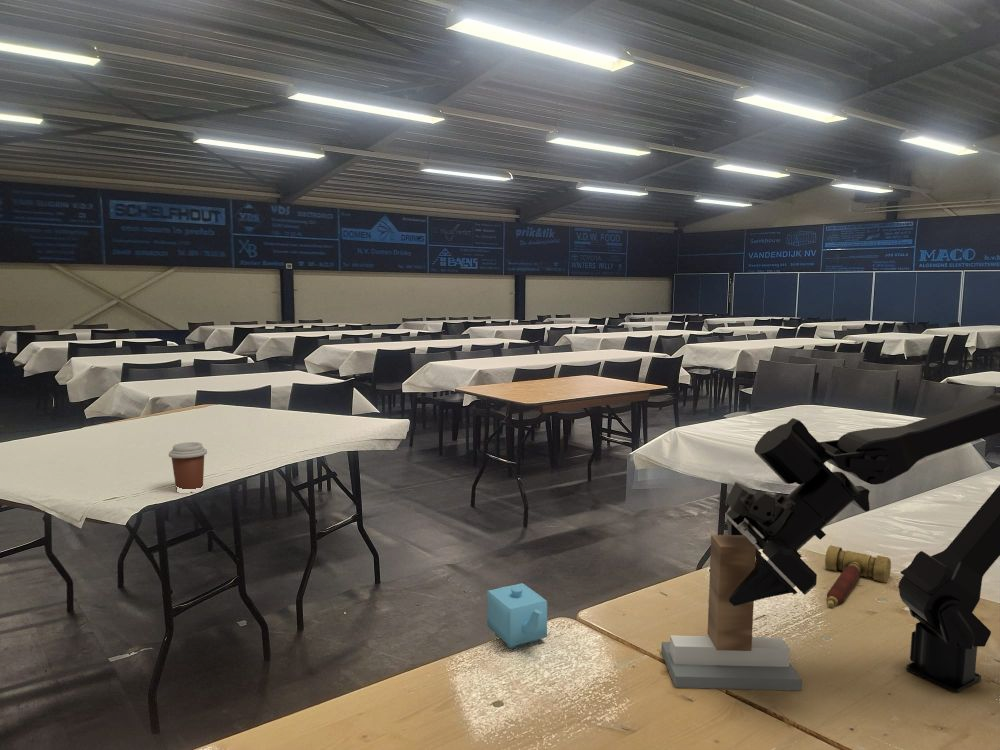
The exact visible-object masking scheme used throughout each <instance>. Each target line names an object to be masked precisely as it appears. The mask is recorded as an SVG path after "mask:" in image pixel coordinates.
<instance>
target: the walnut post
mask: <svg viewBox="0 0 1000 750" xmlns="http://www.w3.org/2000/svg"><path fill="white" fill-rule="evenodd" d="M756 548H757V547H756V545H755V544H754V545H753V543H752V542H751V541H750V540H749V539H748V538H747V537H746V536H745V535H728V534H711V535H710V555H709V556H710V559H709V569H710V572H709V581H708V582H709V583H708V584H709V585H708V587H709V588H708V607H707V608H708V614H707V636H709V637H710V639H711V641H712V643H713V644H714V646H715V648H716V650H728V651H752V637H753V628H754V627H753V626H754V625H753V624H754V622H753V621H754V604H755V603H754V602H755V601H752V602H748V603H744V604H741V605H737V606H733V605H732V604H731V603H730V602H729V600H728V599H729V597H730V596H731V595H732V593H733V592H734V591H735V590H736V588H737V587H738V586H739V585H740V584H741V583H742V582H743V581H744V579H745V578H746V577H747V576H748V575H749V574H750V573H751V572H752V570H753V569H754V568H755V562H756Z"/></svg>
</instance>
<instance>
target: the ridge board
mask: <svg viewBox="0 0 1000 750" xmlns="http://www.w3.org/2000/svg"><path fill="white" fill-rule="evenodd" d="M669 636H670V637H669V641H661V651H660V652H661V654H662V658H663V660H664V663H665V665H666V667H667V671H668V673H669V675H670V677H671V681H672V684H673V685H674V688H675V689H676V688H677V689H678V688H681V689H715V690H716V689H720V690H723V689H724V690H754V691H755V690H756V691H758V690H759V691H760V690H761V691H762V690H765V691H798V690H799V692H800V691H802V688H803V687H802V685H803V679H802V677H801V676H800V675H799V673H798V672H797V670H796V669H795V668H794V667H793V665H792V663H791V662H790V660H791V659H790V657H791V648H790V647H789V646H788V644H787V643H786V641H785V640H784V639H783V637H771V636H770V637H768V636H767V637H766V636H765V637H763V636H752V651H728V650H716V648H715V646H714V644H713V643H712V641H711V639H710V637H709V635H673V634H672V635H669Z"/></svg>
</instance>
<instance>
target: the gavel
mask: <svg viewBox="0 0 1000 750" xmlns="http://www.w3.org/2000/svg"><path fill="white" fill-rule="evenodd" d="M891 560H892V559H891V558H890V557H888V556H885V555H883V556H882V555H879V554H878V555H876V557H875V556H872V555H870V554H866V553H860V552H856V551H851V550H843V548H842V547H840V546H835V545H831V544H830V545H829V546H828V547H827V548H826V553H825V560H824V565H825V569H826V570H828V569H829V570H828V571H832V570H833V571H834V572H836V571H837V572H839V571H842V572H840V574H839V576H838V577H837V579H836V580H835V581H834V583H833V585H832V586H831V587H830V589H829V590H828V592H827V593H826V598H827V599H826V601H827V604H826V605H827V606H828V607H829V608H833V607H836V606H838V604H839V605H842V604H843V602H844V601H845V599H846V597H847V596H848V595H849V593H850V591H851V590H852V589H853V587H854V585H855V584H856V582H857V581H858V579H859V578H860V577H863V576H864V577H865V578H871V577H872V578H871V579H873V580H874V581H875V580H877V581H876V582H879V581H881V582H880V583H884V582H886V583H888V581H889V580H890V576H891V569H892V562H891ZM833 571H832V572H833ZM859 575H860V576H859ZM888 579H889V580H888Z"/></svg>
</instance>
